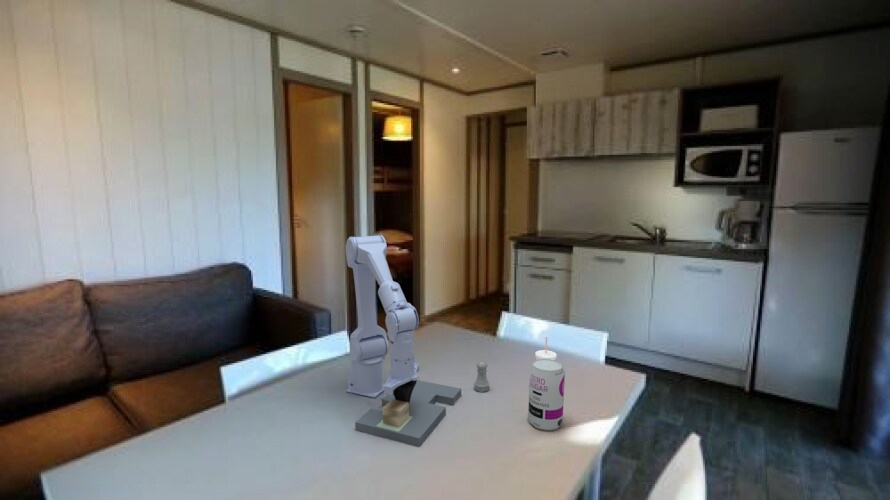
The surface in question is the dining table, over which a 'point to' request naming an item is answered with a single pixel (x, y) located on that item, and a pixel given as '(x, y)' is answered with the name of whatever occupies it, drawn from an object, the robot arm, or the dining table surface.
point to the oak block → (395, 413)
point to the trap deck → (412, 414)
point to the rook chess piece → (481, 377)
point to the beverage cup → (545, 354)
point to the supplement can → (546, 394)
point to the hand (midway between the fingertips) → (403, 409)
